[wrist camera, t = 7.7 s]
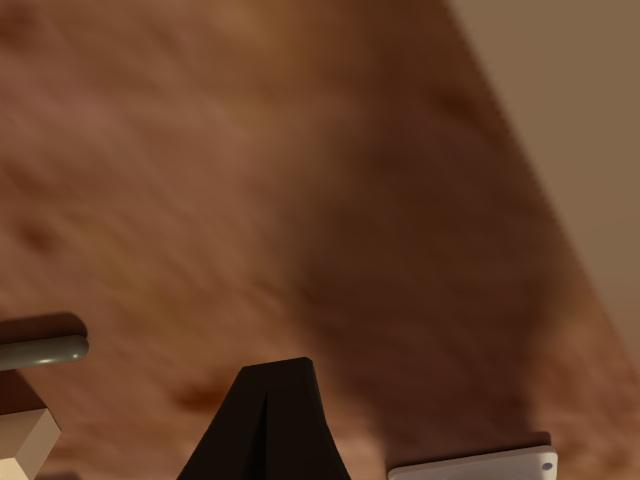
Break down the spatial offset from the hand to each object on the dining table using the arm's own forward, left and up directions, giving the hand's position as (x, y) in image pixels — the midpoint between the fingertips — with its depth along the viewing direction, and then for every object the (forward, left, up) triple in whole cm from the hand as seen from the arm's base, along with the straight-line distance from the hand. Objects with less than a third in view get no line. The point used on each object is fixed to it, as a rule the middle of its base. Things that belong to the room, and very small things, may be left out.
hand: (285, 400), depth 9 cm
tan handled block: (-3, +13, -8) cm, 16 cm away
